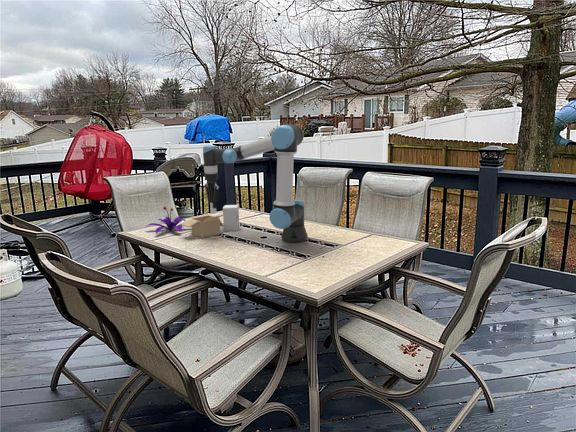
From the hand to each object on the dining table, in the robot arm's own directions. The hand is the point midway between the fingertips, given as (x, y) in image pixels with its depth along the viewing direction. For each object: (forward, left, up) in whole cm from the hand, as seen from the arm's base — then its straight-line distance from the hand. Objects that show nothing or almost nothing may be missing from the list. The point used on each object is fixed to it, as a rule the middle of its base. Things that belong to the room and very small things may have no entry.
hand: (213, 213), depth 246 cm
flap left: (+11, +6, -4) cm, 13 cm away
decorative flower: (+35, +11, -15) cm, 39 cm away
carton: (+12, -2, -15) cm, 20 cm away
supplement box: (+10, -18, -15) cm, 25 cm away
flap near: (+4, 0, -4) cm, 6 cm away
